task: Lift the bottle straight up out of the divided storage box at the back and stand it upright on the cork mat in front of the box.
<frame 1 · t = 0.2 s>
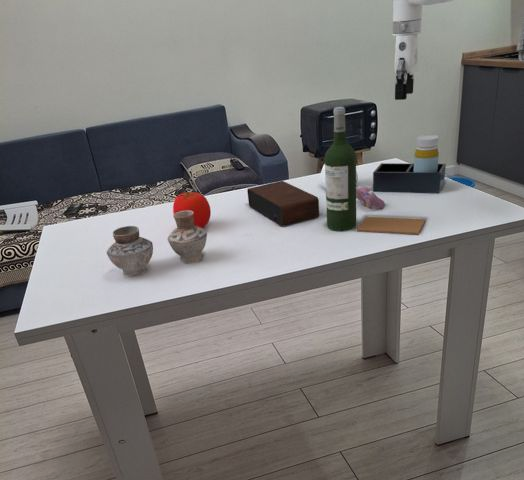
hand: (404, 96, 156), 26 cm above the table, tool pointing down, fingers open, 9 cm apart
divided storage box: (408, 187, 169), on the table
brown box: (282, 212, 161), on the table
pottery: (162, 266, 136), on the table
teapot: (339, 188, 176), on the table
bottle: (424, 188, 167), resting in divided storage box
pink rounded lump: (368, 207, 158), on the table
cork mat: (391, 226, 143), on the table
tomato: (194, 229, 156), on the table
wine bottle: (341, 227, 146), on the table
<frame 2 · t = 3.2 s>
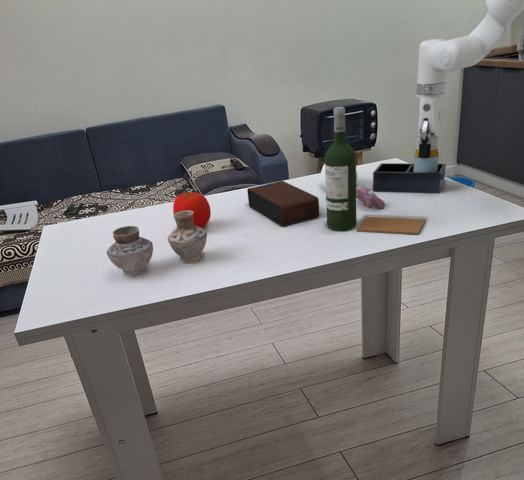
hand: (426, 153, 161), 10 cm above the table, tool pointing down, fingers closed on bottle, 7 cm apart
bottle: (424, 188, 167), resting in divided storage box, touching gripper
everything else where it was.
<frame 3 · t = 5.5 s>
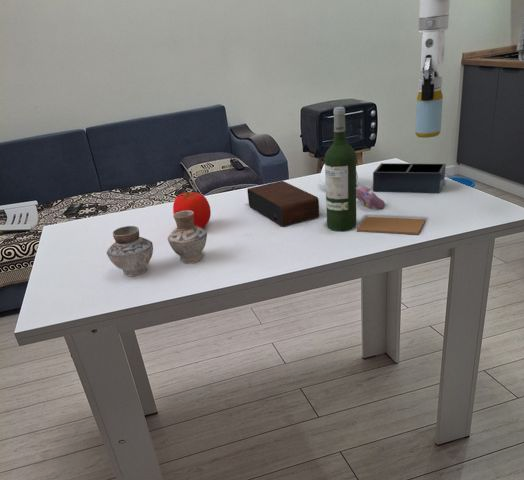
hand: (429, 97, 151), 26 cm above the table, tool pointing down, fingers closed on bottle, 7 cm apart
bottle: (427, 135, 157), point 16 cm above the table, touching gripper
everything else where it was.
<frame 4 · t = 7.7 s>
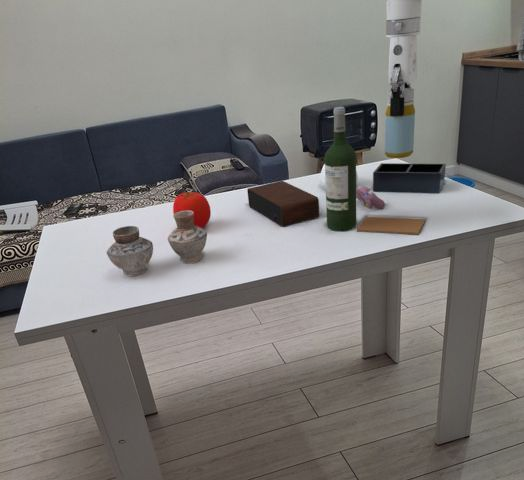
hand: (400, 111, 131), 27 cm above the table, tool pointing down, fingers closed on bottle, 7 cm apart
bottle: (398, 155, 136), point 17 cm above the table, touching gripper
everything else where it was.
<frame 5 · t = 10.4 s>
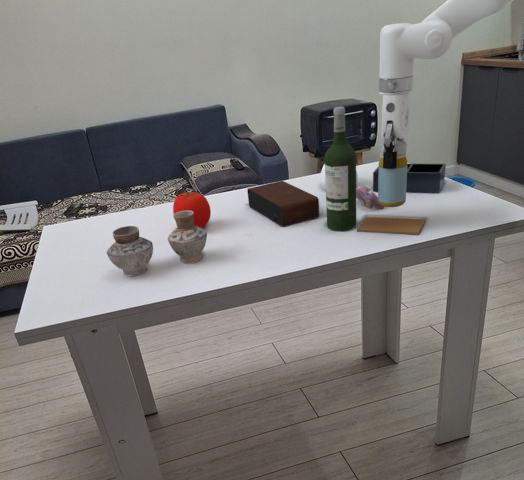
hand: (393, 163, 134), 16 cm above the table, tool pointing down, fingers closed on bottle, 7 cm apart
bottle: (391, 204, 139), point 6 cm above the table, touching gripper
everything else where it was.
when the fingers open (11 cm above the table, at t = 12.3 s): bottle stays where it is, resting on cork mat.
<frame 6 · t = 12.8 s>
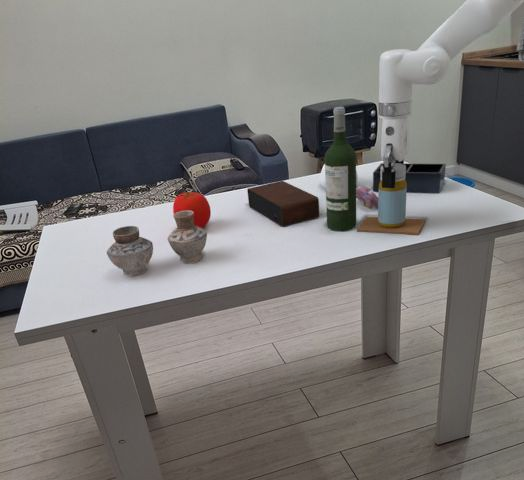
hand: (392, 181, 136), 12 cm above the table, tool pointing down, fingers open, 9 cm apart
bottle: (391, 224, 142), resting on cork mat
everything else where it was.
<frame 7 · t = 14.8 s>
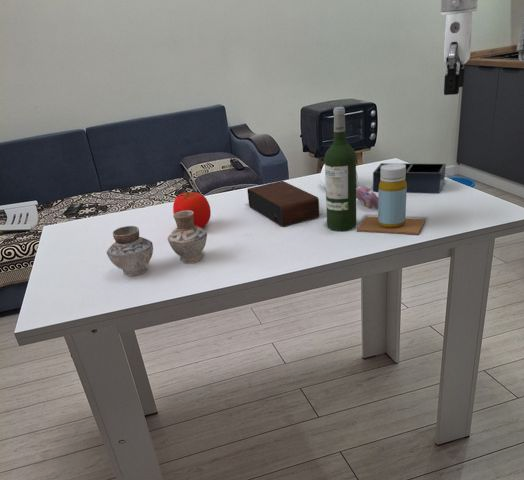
hand: (453, 90, 126), 31 cm above the table, tool pointing down, fingers open, 9 cm apart
nothing on the table moved.
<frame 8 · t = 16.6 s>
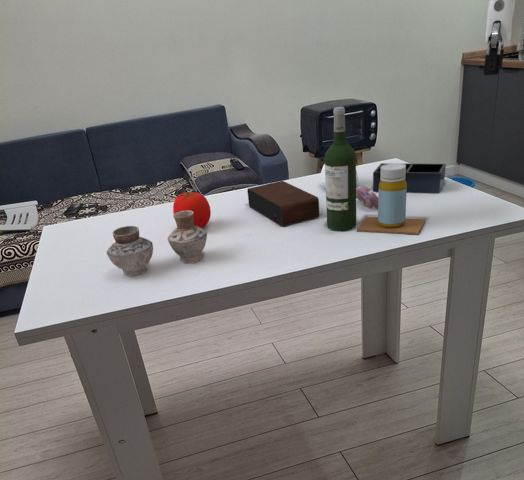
hand: (492, 71, 125), 34 cm above the table, tool pointing down, fingers open, 9 cm apart
nothing on the table moved.
at the end: bottle inside the target area on the cork mat (0.1 cm from its centre), point 0.4 cm above the cork mat's base; bottle tilted 0°; the gripper is holding nothing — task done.
